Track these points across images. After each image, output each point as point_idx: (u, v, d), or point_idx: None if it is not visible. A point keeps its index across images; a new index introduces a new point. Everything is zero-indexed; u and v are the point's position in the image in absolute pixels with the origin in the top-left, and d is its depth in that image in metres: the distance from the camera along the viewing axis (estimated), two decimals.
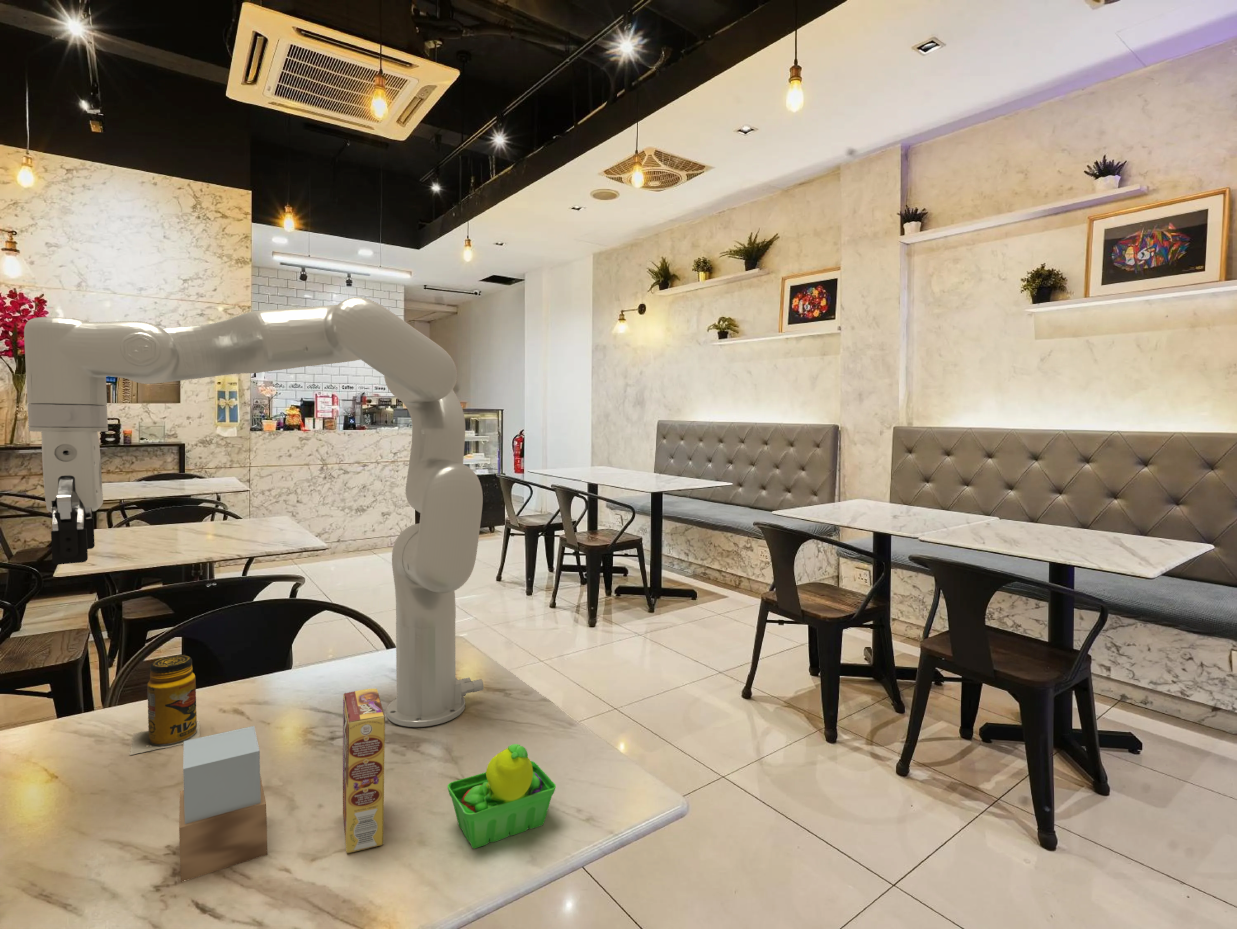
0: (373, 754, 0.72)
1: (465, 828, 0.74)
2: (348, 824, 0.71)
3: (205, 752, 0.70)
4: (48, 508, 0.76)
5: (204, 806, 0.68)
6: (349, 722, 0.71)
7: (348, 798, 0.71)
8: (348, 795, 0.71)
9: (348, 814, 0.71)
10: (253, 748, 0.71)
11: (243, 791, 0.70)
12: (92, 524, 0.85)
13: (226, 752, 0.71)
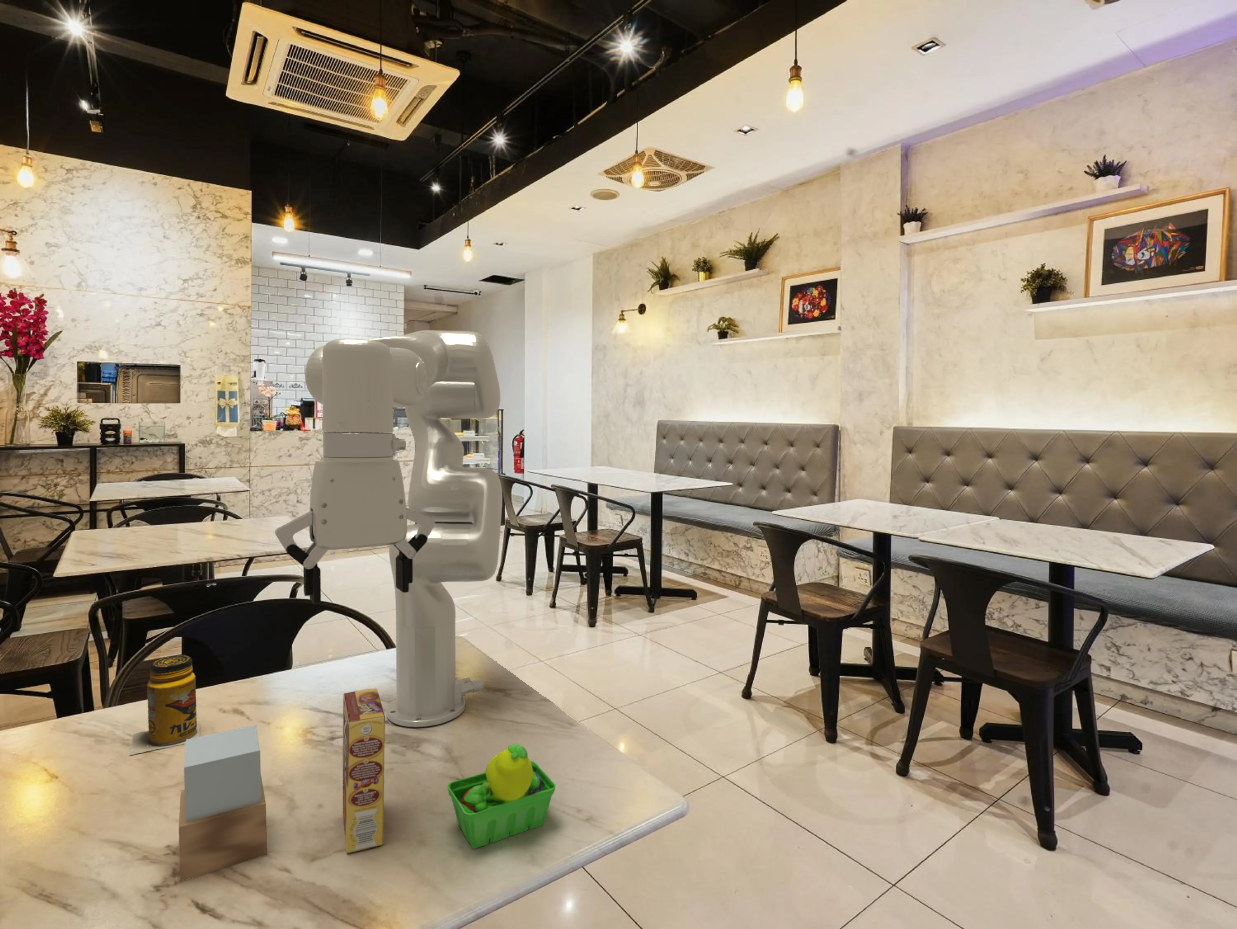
0: (373, 754, 0.72)
1: (465, 828, 0.74)
2: (348, 824, 0.71)
3: (207, 751, 0.71)
4: (403, 537, 0.75)
5: (204, 804, 0.69)
6: (349, 722, 0.71)
7: (348, 798, 0.71)
8: (348, 795, 0.71)
9: (348, 814, 0.71)
10: (253, 748, 0.72)
11: (243, 790, 0.70)
12: None
13: (227, 751, 0.71)
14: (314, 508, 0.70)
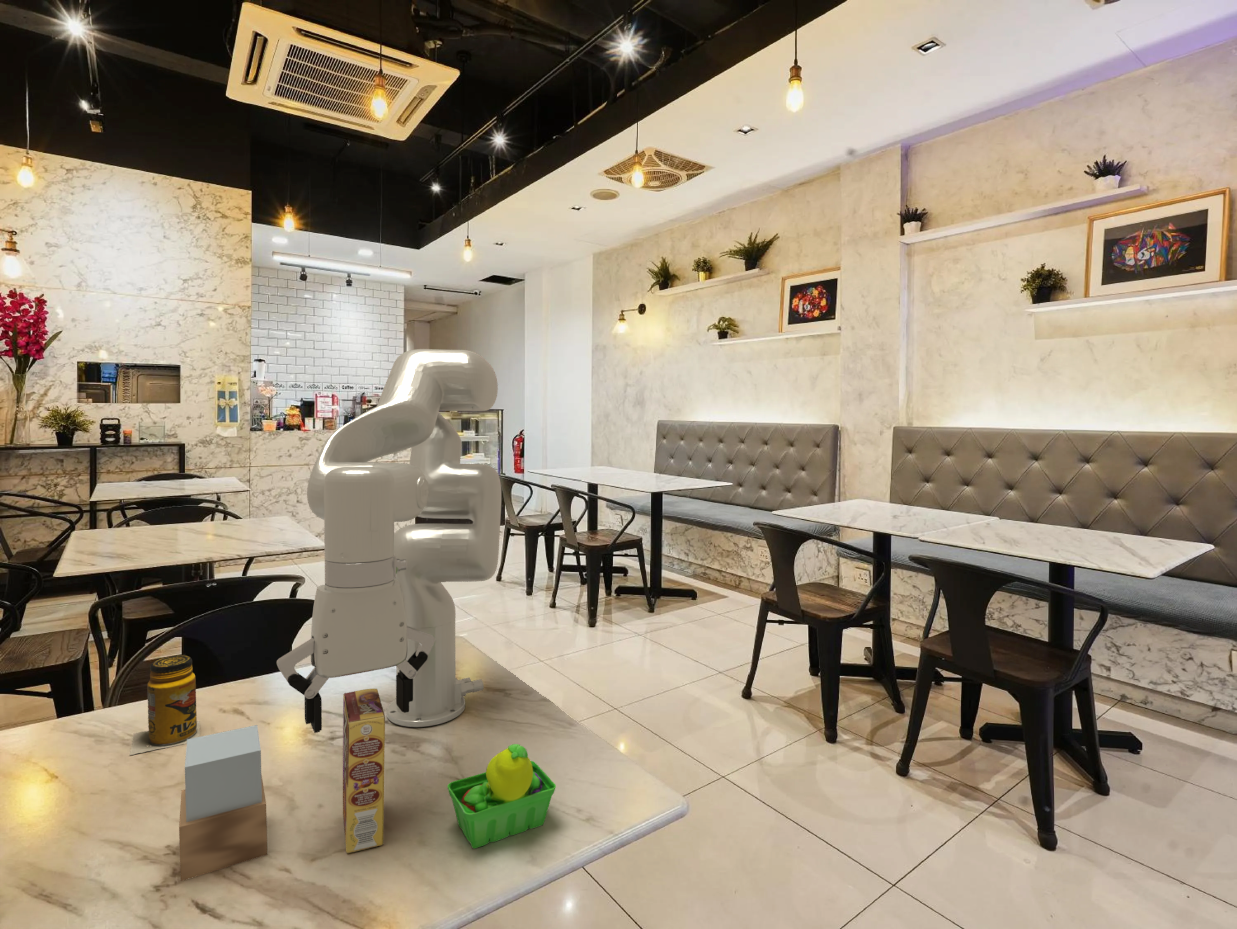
0: (373, 754, 0.72)
1: (465, 828, 0.74)
2: (348, 824, 0.71)
3: (207, 751, 0.71)
4: (404, 659, 0.76)
5: (205, 804, 0.69)
6: (349, 722, 0.71)
7: (348, 798, 0.71)
8: (348, 795, 0.71)
9: (348, 814, 0.71)
10: (254, 747, 0.72)
11: (244, 790, 0.70)
12: None
13: (228, 751, 0.71)
14: (316, 638, 0.71)
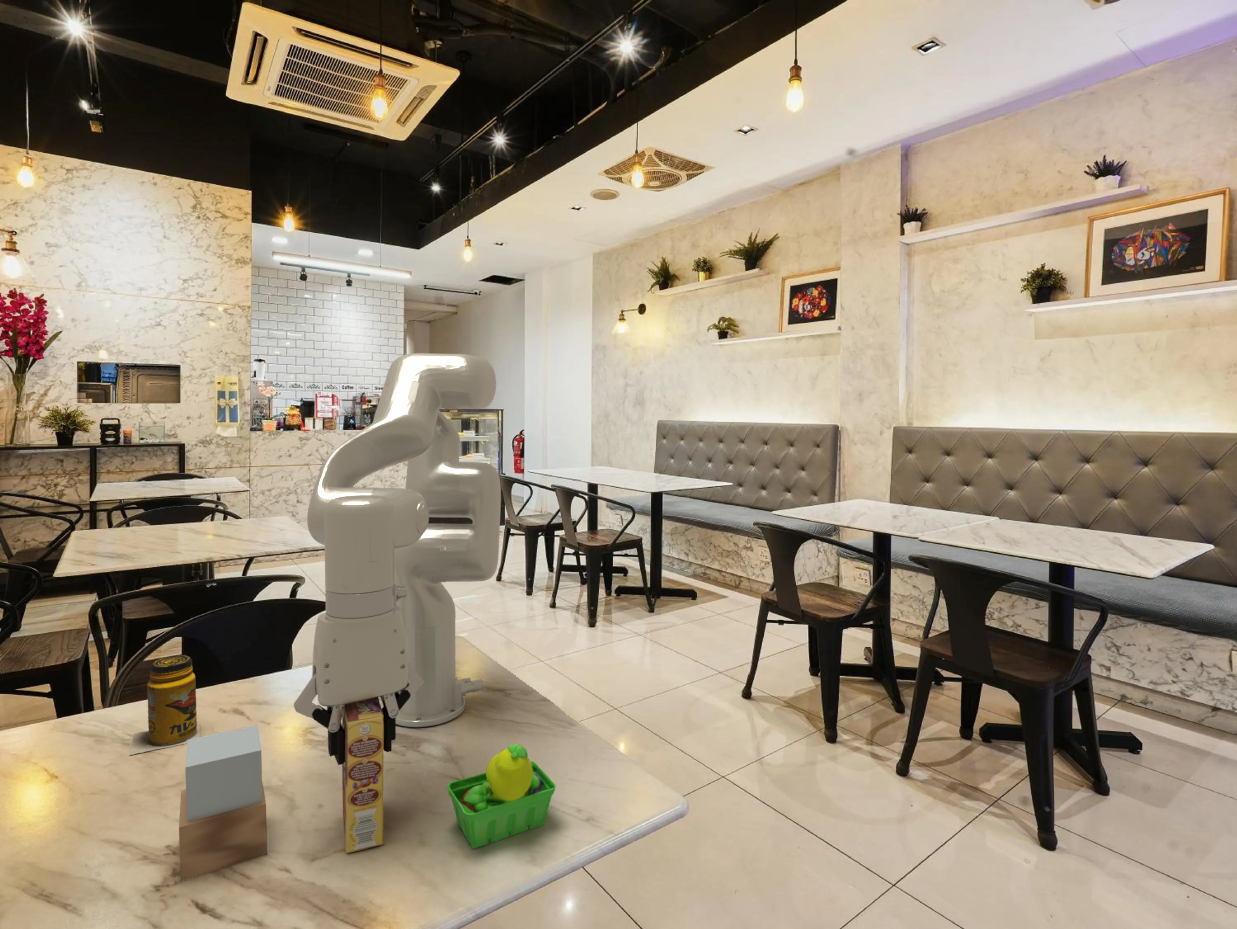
0: (372, 754, 0.72)
1: (465, 828, 0.74)
2: (348, 824, 0.71)
3: (208, 751, 0.71)
4: (405, 685, 0.76)
5: (206, 804, 0.69)
6: (348, 722, 0.71)
7: (347, 798, 0.71)
8: (347, 795, 0.71)
9: (348, 814, 0.71)
10: (255, 747, 0.72)
11: (244, 790, 0.71)
12: None
13: (229, 751, 0.71)
14: (317, 667, 0.71)
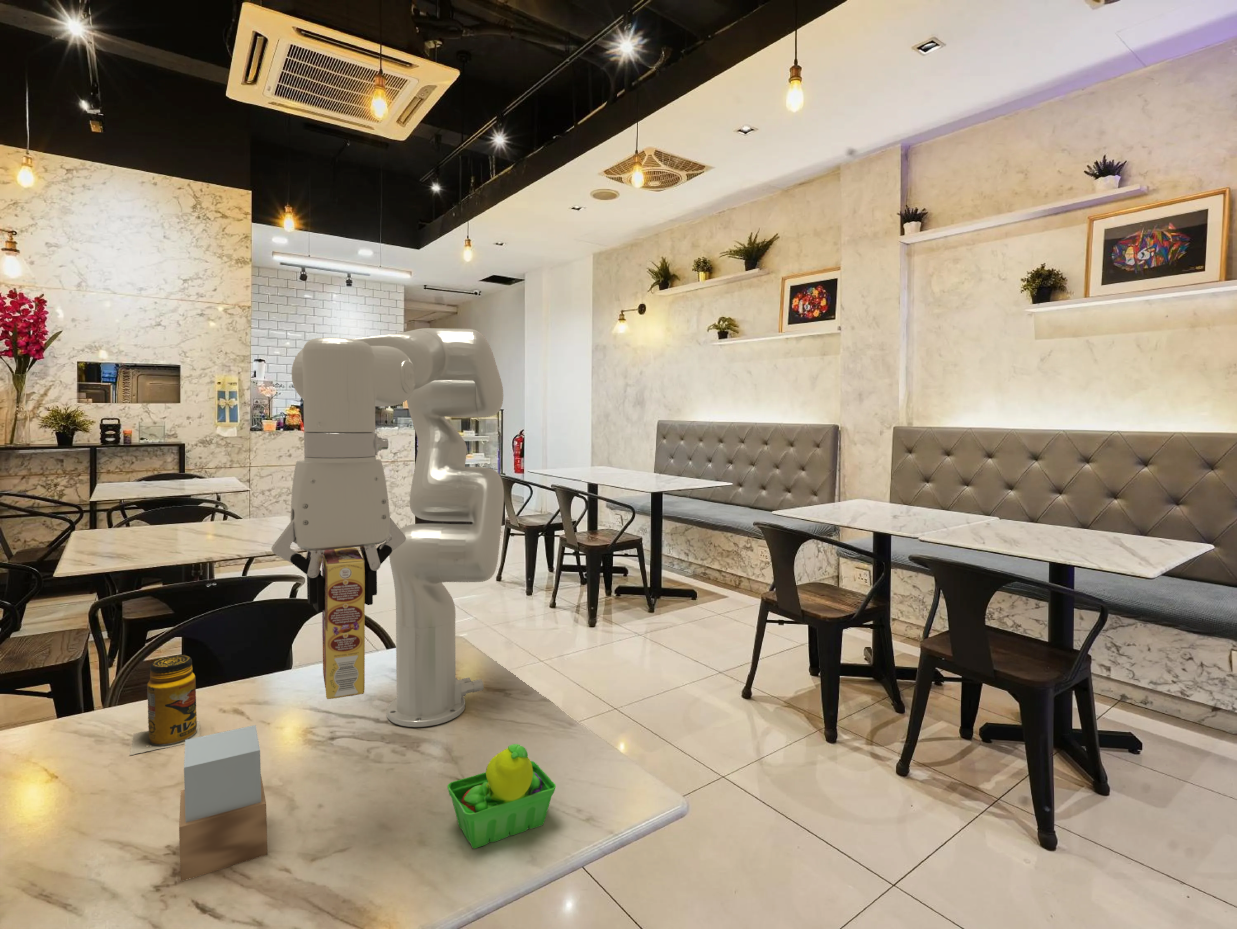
0: (353, 599, 0.71)
1: (465, 828, 0.74)
2: (328, 669, 0.70)
3: (206, 751, 0.71)
4: (386, 537, 0.75)
5: (204, 804, 0.69)
6: (327, 564, 0.69)
7: (328, 642, 0.70)
8: (327, 639, 0.70)
9: (328, 659, 0.70)
10: (253, 747, 0.72)
11: (243, 790, 0.70)
12: None
13: (227, 751, 0.71)
14: (296, 509, 0.70)
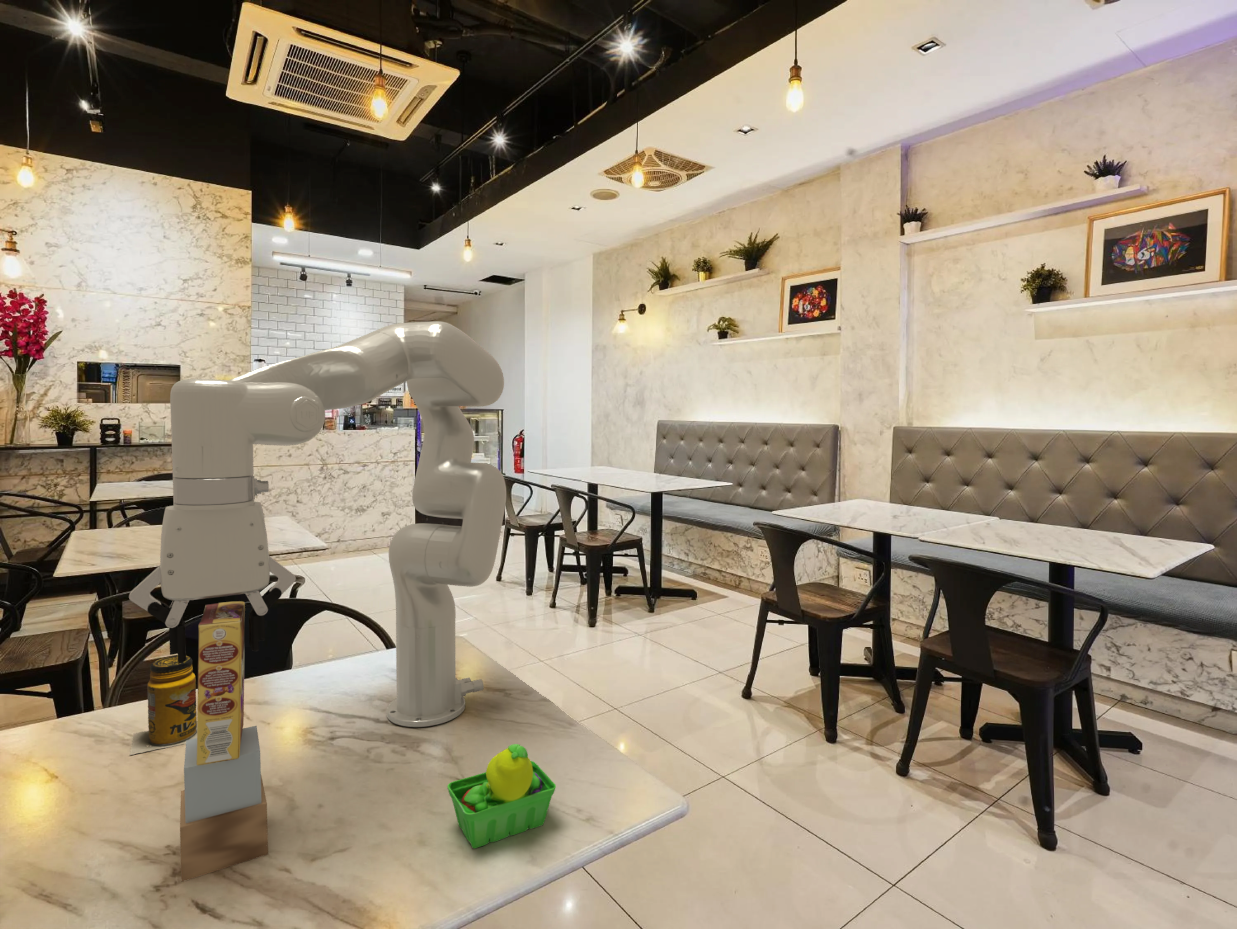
0: (228, 661, 0.68)
1: (465, 828, 0.74)
2: (198, 734, 0.67)
3: None
4: (265, 585, 0.72)
5: (204, 805, 0.68)
6: (199, 625, 0.67)
7: (198, 706, 0.67)
8: (198, 703, 0.67)
9: (198, 723, 0.67)
10: (254, 748, 0.71)
11: (243, 791, 0.70)
12: None
13: None
14: (161, 558, 0.67)
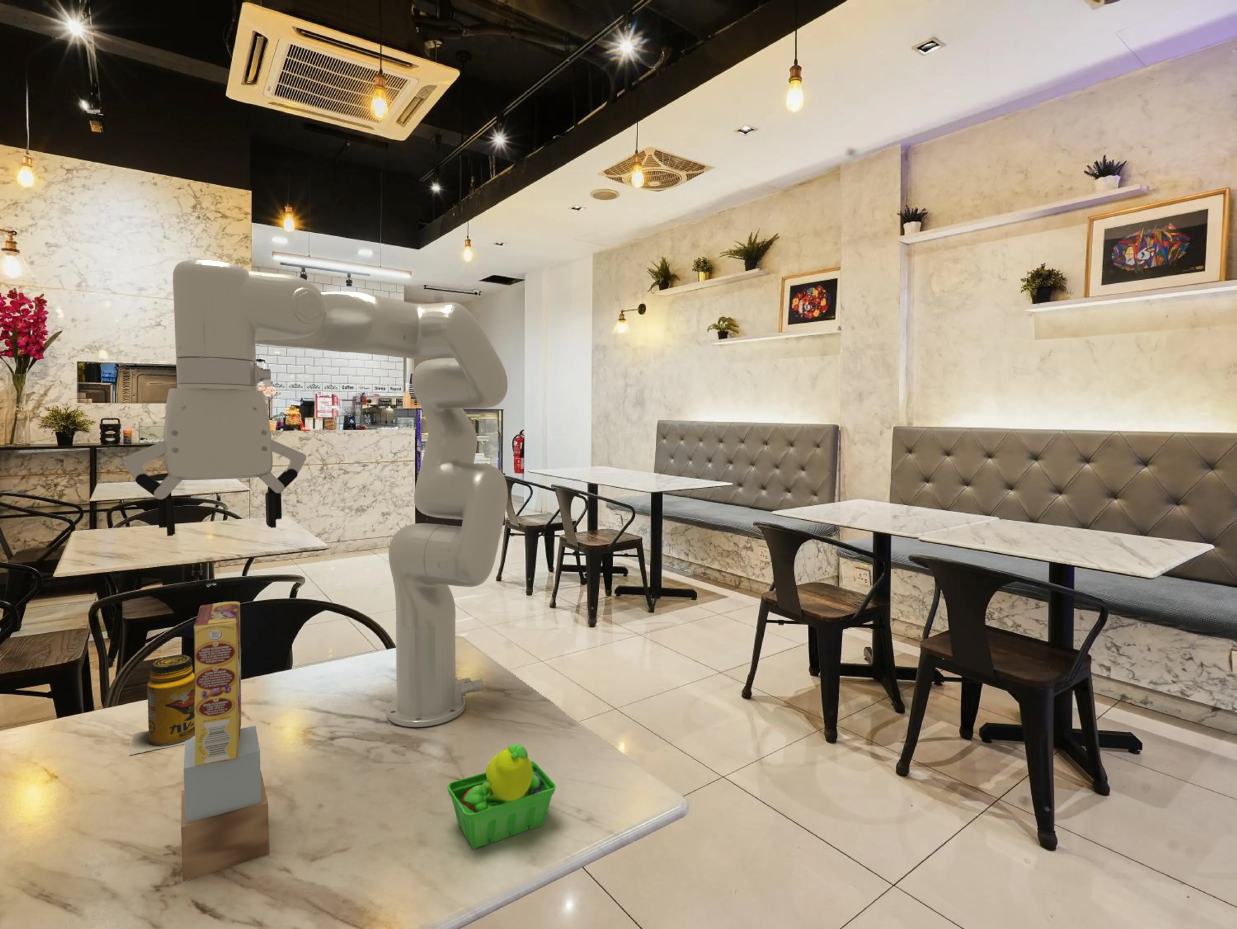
0: (224, 661, 0.68)
1: (465, 828, 0.74)
2: (196, 735, 0.67)
3: None
4: (268, 470, 0.73)
5: (204, 805, 0.68)
6: (195, 626, 0.67)
7: (196, 707, 0.67)
8: (195, 704, 0.67)
9: (196, 724, 0.67)
10: (253, 748, 0.71)
11: (243, 791, 0.70)
12: None
13: None
14: (165, 436, 0.68)
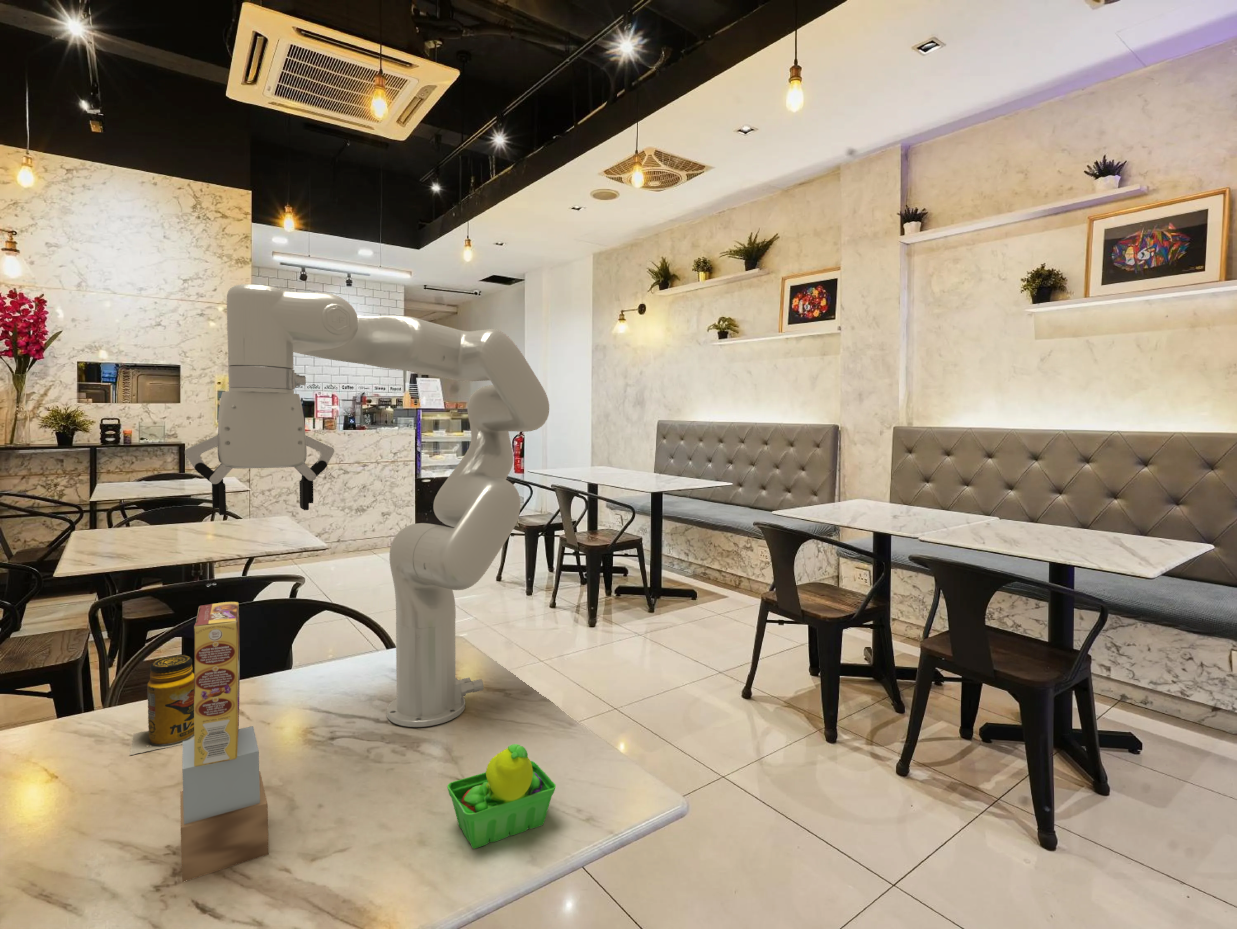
0: (224, 662, 0.68)
1: (465, 828, 0.74)
2: (195, 735, 0.67)
3: None
4: (303, 461, 0.86)
5: (203, 806, 0.68)
6: (195, 626, 0.67)
7: (195, 707, 0.67)
8: (195, 704, 0.67)
9: (195, 725, 0.67)
10: (252, 748, 0.71)
11: (242, 791, 0.70)
12: None
13: None
14: (219, 431, 0.81)
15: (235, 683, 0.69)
